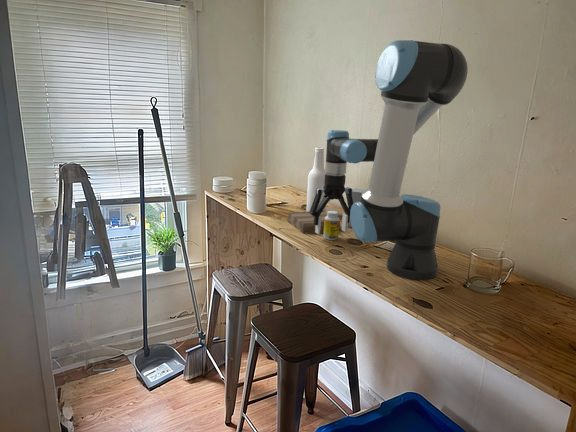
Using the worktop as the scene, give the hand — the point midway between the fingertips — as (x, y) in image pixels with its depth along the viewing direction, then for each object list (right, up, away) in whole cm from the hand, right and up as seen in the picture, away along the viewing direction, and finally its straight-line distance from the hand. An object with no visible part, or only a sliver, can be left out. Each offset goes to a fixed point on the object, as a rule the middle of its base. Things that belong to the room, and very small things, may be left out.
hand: (331, 232), depth 151 cm
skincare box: (+13, +1, +16) cm, 21 cm away
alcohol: (-3, +7, +33) cm, 34 cm away
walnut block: (-6, +2, +15) cm, 16 cm away
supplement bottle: (0, -3, +1) cm, 3 cm away
